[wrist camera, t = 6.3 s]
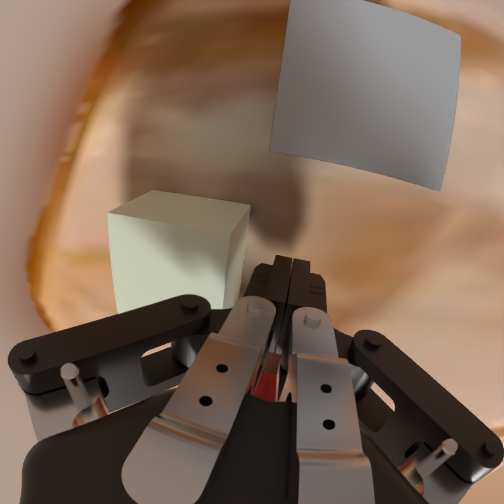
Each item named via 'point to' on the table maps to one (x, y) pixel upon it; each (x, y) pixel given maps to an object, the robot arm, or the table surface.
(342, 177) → the table surface
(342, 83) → the slate block
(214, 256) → the sage block
